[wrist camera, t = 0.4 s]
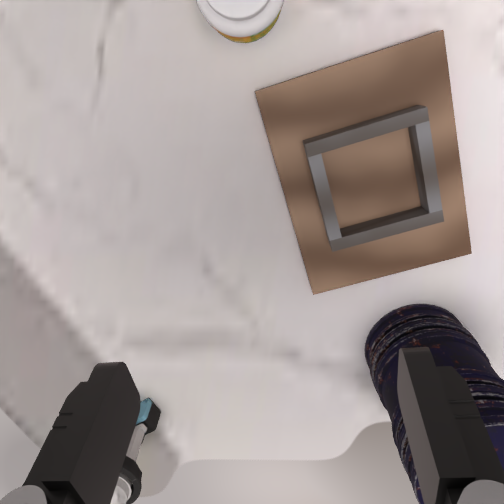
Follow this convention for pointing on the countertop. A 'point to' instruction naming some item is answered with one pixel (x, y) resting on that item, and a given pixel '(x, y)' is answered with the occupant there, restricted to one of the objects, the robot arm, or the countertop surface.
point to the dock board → (370, 163)
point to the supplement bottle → (241, 17)
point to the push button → (135, 455)
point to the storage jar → (444, 354)
